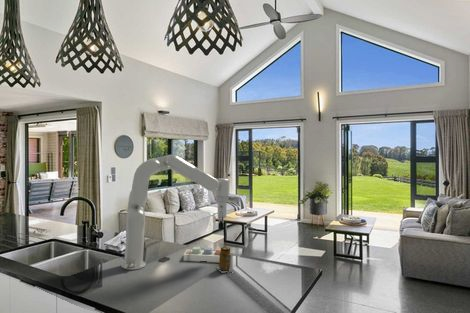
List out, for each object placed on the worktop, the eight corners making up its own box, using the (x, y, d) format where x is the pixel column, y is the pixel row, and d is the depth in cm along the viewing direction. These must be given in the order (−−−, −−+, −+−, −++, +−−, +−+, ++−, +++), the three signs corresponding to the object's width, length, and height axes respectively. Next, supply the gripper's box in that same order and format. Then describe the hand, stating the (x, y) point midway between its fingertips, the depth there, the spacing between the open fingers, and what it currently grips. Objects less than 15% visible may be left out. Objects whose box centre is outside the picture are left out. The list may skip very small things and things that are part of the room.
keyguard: (226, 262, 174) (226, 255, 174) (183, 260, 174) (183, 253, 174) (227, 257, 184) (227, 250, 184) (186, 255, 184) (186, 248, 184)
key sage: (199, 255, 177) (199, 249, 177) (192, 254, 177) (192, 249, 177) (200, 252, 181) (200, 247, 181) (193, 252, 181) (193, 246, 181)
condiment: (228, 267, 167) (229, 246, 167) (233, 272, 159) (234, 250, 159) (216, 268, 165) (217, 246, 165) (220, 274, 157) (221, 251, 157)
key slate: (211, 255, 177) (211, 250, 177) (203, 255, 177) (204, 249, 177) (211, 253, 181) (212, 247, 181) (204, 253, 181) (204, 247, 181)
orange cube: (222, 256, 177) (223, 250, 177) (215, 256, 177) (215, 250, 177) (223, 254, 181) (223, 248, 181) (215, 253, 181) (216, 247, 181)
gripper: (228, 200, 172) (226, 232, 172) (228, 197, 187) (227, 226, 187) (215, 200, 172) (213, 232, 172) (216, 197, 187) (215, 226, 187)
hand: (221, 229), depth 179 cm, fingers closed
